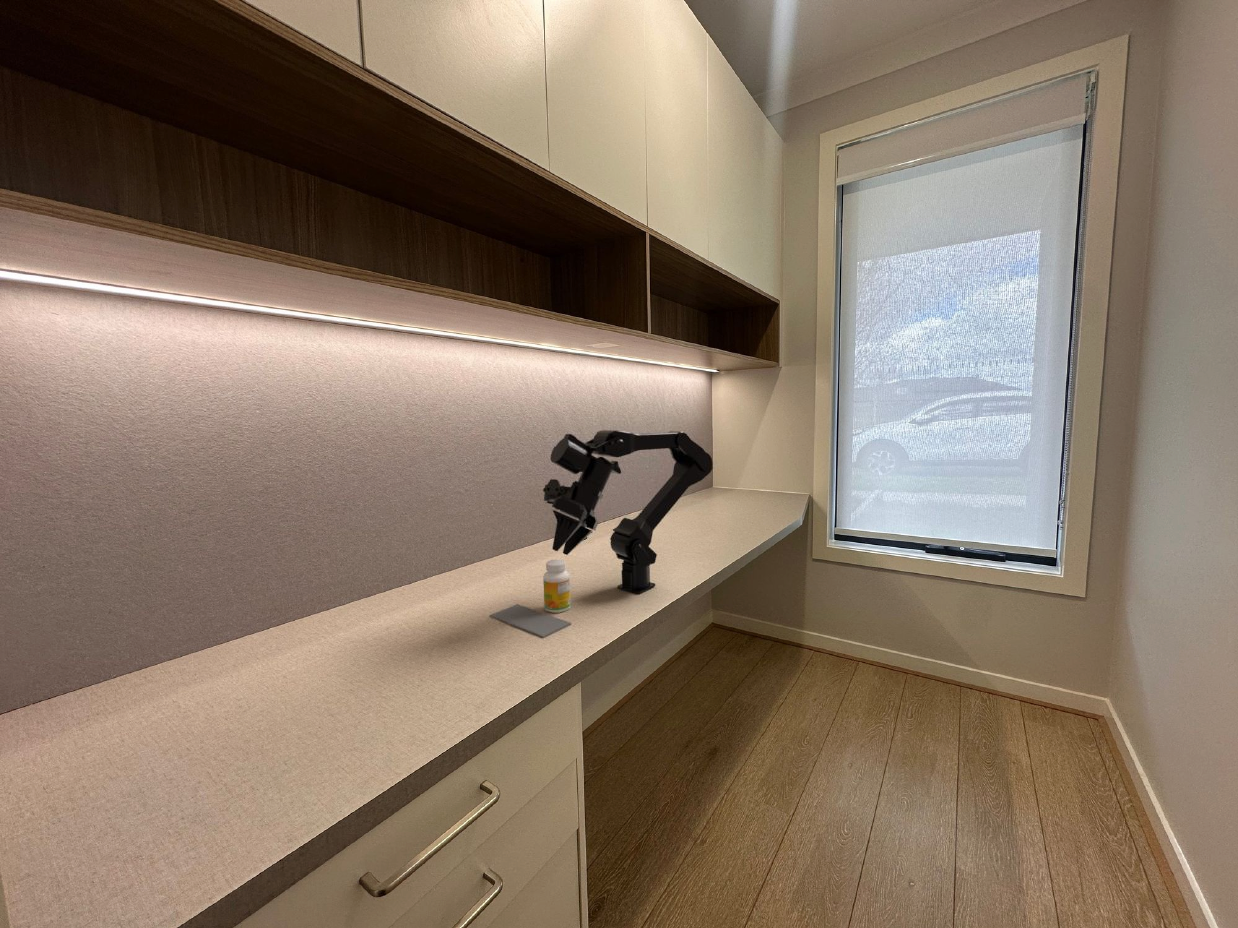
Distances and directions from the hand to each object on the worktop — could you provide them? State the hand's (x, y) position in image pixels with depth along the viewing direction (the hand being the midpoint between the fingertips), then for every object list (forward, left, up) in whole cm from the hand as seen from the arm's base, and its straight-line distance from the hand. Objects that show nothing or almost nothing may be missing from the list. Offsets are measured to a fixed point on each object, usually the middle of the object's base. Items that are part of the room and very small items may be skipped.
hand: (560, 552), depth 99 cm
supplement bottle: (+1, 0, -12) cm, 12 cm away
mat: (+8, 0, -12) cm, 14 cm away
